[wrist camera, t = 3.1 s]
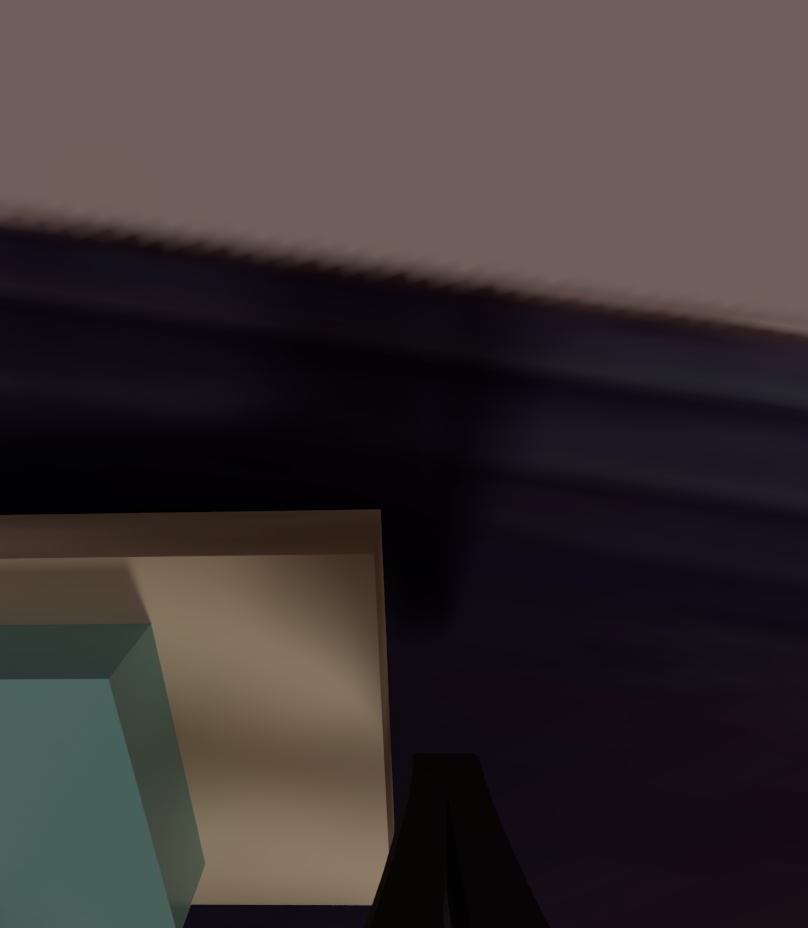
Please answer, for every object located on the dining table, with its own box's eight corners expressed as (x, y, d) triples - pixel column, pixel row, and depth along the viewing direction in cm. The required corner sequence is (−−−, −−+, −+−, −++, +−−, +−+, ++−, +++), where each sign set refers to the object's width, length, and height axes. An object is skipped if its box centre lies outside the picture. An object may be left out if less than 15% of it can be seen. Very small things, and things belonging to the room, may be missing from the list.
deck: (394, 825, 15) (391, 905, 13) (-145, 825, 15) (-224, 902, 13) (380, 509, 11) (374, 553, 9) (-309, 519, 12) (-447, 564, 10)
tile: (205, 864, 12) (179, 938, 11) (-75, 863, 13) (-137, 936, 11) (151, 624, 10) (108, 678, 9) (-191, 627, 10) (-289, 681, 9)
